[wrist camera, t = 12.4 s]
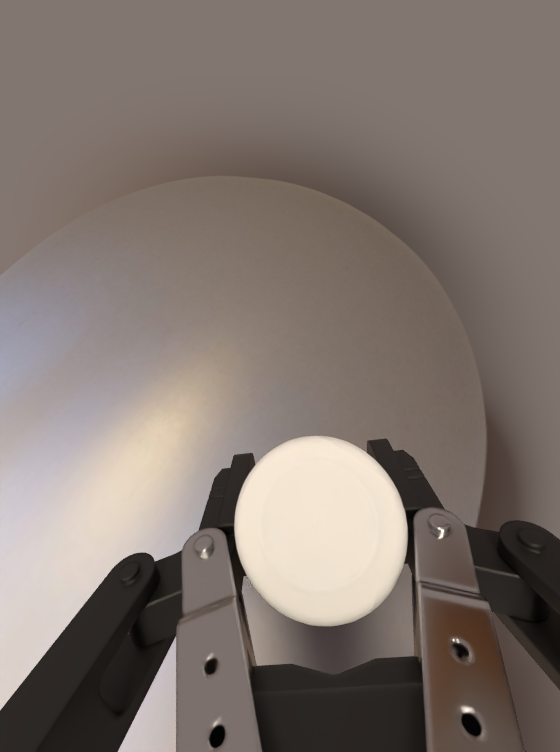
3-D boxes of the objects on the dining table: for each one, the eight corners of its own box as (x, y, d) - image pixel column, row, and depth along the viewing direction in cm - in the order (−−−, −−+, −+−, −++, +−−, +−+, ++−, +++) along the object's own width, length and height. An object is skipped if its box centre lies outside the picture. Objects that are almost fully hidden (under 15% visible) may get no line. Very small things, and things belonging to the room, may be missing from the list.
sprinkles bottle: (269, 498, 21) (200, 490, 8) (326, 460, 21) (339, 401, 9) (307, 566, 19) (290, 681, 7) (368, 523, 20) (455, 557, 7)
